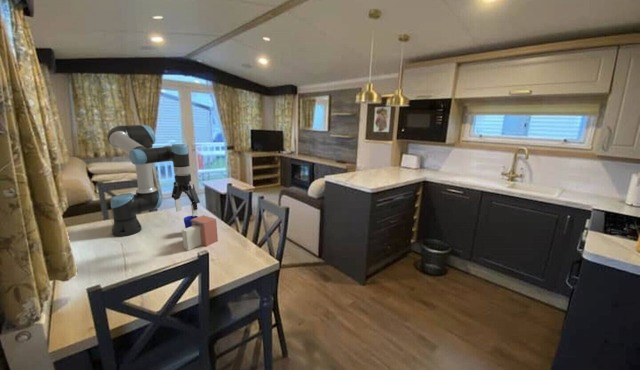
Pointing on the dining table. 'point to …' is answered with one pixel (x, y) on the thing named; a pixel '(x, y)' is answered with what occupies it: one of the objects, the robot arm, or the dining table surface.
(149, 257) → the dining table surface
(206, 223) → the dispenser
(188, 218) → the mug
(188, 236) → the white double cube block
